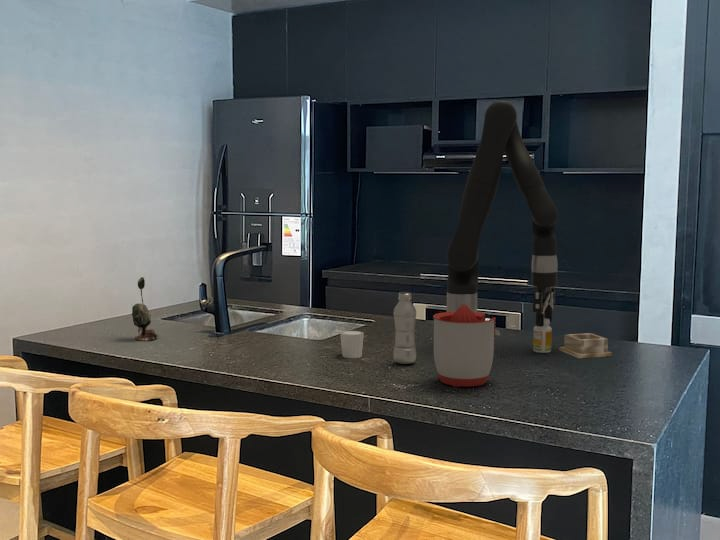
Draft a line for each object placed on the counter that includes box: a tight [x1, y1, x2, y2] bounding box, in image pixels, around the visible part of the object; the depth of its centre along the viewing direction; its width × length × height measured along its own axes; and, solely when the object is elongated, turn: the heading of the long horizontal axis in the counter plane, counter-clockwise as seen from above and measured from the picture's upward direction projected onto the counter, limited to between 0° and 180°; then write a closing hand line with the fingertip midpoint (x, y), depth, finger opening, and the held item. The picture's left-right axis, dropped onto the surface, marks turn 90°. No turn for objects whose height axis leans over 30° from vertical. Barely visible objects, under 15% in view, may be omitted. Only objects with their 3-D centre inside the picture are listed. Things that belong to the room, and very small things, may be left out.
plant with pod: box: [131, 276, 159, 342], centre depth 248 cm, size 8×11×20 cm
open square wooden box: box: [558, 332, 613, 359], centre depth 227 cm, size 11×11×5 cm
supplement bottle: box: [532, 317, 553, 354], centre depth 230 cm, size 5×5×10 cm
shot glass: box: [339, 330, 364, 359], centre depth 223 cm, size 7×7×7 cm
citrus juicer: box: [432, 304, 501, 388], centre depth 193 cm, size 16×17×20 cm
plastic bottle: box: [392, 291, 417, 365], centre depth 213 cm, size 6×7×20 cm
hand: (544, 323), depth 229 cm, fingers open, 8 cm apart
